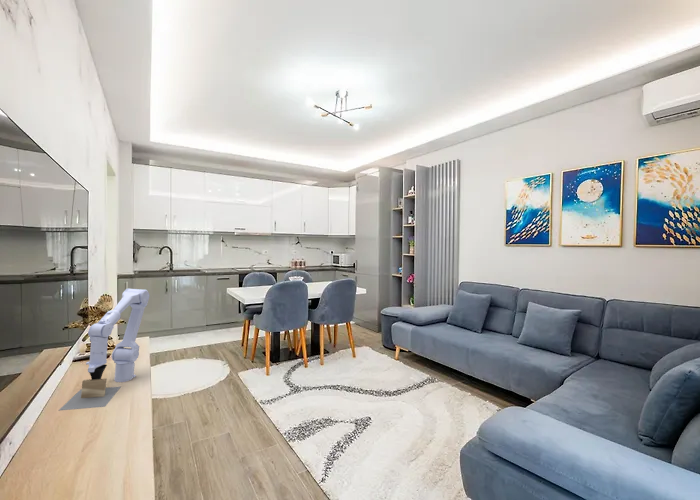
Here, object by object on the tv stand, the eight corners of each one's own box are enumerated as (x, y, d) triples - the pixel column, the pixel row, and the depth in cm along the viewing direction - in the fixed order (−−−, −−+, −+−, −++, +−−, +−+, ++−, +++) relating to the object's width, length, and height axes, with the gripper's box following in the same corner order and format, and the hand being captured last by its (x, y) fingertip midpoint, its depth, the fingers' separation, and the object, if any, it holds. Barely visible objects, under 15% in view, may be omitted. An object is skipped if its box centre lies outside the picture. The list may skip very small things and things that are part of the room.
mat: (80, 390, 144) (80, 389, 144) (120, 387, 149) (121, 386, 149) (58, 412, 125) (58, 410, 125) (104, 408, 130) (105, 406, 130)
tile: (82, 396, 137) (83, 379, 137) (105, 394, 140) (106, 378, 140) (80, 398, 136) (82, 381, 136) (103, 396, 138) (105, 379, 139)
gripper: (94, 347, 146) (91, 377, 145) (79, 357, 132) (77, 391, 132) (112, 346, 148) (110, 376, 148) (100, 356, 135) (98, 389, 134)
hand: (96, 383), depth 140 cm, fingers closed
